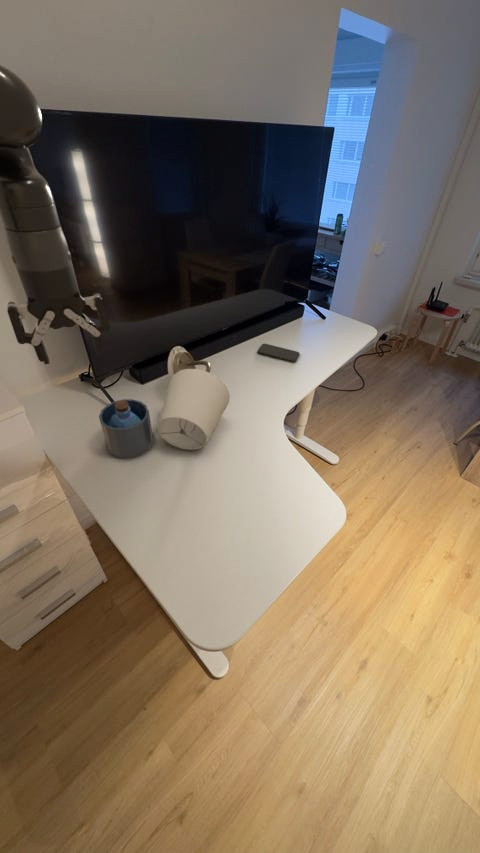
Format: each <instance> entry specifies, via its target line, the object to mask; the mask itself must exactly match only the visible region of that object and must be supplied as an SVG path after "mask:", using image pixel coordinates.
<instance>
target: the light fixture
mask: <svg viewBox="0 0 480 853" xmlns="http://www.w3.org/2000/svg"><path fill="white" fill-rule="evenodd" d="M196 366H205V367H206V369H205V370H203V369H199V368H196ZM211 370H212V366H211V363H210V362H208V361H206V360H194V357H193V356H192V355H191V354H190V352H188V351H187V350H186V349H185V348H184V347H183V346H180V345H179V346H174V347H173V348H172V349H171V350H170V352H169V354H168V357H167V373H168V374H167V375H168V378H169V383H168V387H167V390H166V394H165V398H164V400H163V404H162V408H161V412H160V416H159V419H158V422H157V432H158V434H159V436H161V438H162V439H163V440H164V441H165V442H166V443H168V444H170V445H172V446H174V447H176V448H178V449H183V450H186V451H187V450H188V451H193V450H199V449H202V448H203V447H204V446H205V445H206V444H207V443H208V440H209V439H210V438H211V436H212V434H213V433H214V431H215V428H216V427H217V425H218V424H219V421H220V419H221V418H222V416H223V414H224V412H225V411H226V409H227V407H228V405H229V403H230V398H231V396H230V391H229V389H228V387H227V386H226V384H225V383H224V382H223V380H221V379H220V378H219V377H218V376H216V375H214V374H213V373H211Z"/></svg>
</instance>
